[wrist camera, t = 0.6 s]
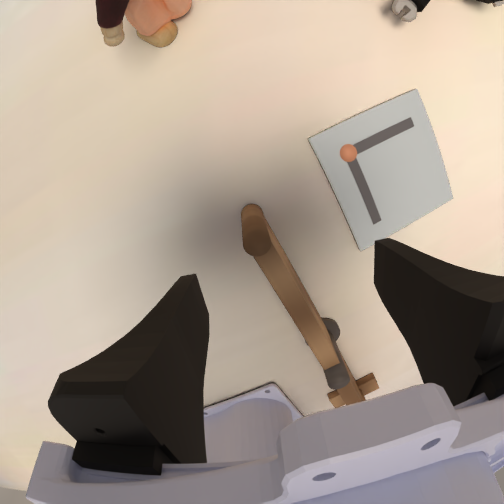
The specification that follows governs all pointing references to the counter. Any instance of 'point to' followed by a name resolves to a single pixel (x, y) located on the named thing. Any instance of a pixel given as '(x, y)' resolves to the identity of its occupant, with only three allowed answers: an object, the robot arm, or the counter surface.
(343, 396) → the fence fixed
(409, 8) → the robot toy
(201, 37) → the counter surface
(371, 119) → the card
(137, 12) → the grandmother figurine
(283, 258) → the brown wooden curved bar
